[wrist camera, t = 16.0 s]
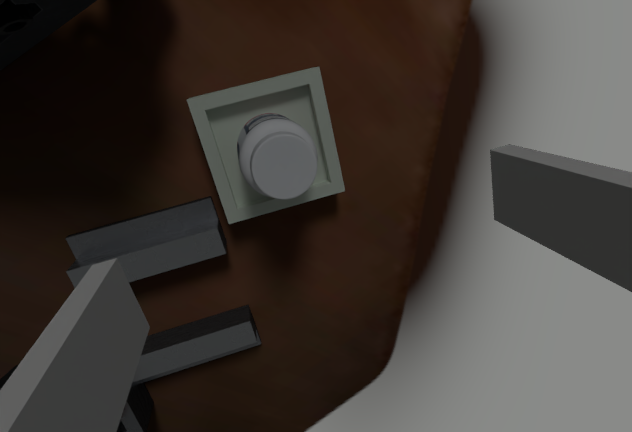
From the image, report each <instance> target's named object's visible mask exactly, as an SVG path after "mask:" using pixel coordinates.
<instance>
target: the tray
mask: <svg viewBox="0 0 632 432" xmlns="http://www.w3.org/2000/svg"><path fill="white" fill-rule="evenodd" d="M187 102H188V105H189V108H190V111H191V114H192V117H193V120H194V123H195V126H196V129H197V132H198V135H199V138H200V141H201V144H202V147H203V149H204V152H205V155H206V158H207V161H208V164H209V167H210V170H211V173H212V176H213V179H214V182H215V185H216V188H217V191H218V194H219V197H220V200H221V203H222V206H223V209H224V212H225V215H226V217H227V220H228V223H229V224H232V223H235V222H239V221H242V220H246V219H249V218H253V217H256V216H260V215H263V214H267V213H270V212H273V211H277V210H280V209H284V208H287V207H291V206H294V205H298V204H301V203H305V202H308V201H312V200H315V199H319V198H322V197H326V196H329V195H333V194H336V193H340V192H343V191H345V188H344V183H343V178H342V173H341V168H340V164H339V159H338V154H337V149H336V145H335V140H334V135H333V130H332V126H331V121H330V116H329V111H328V106H327V102H326V97H325V92H324V87H323V83H322V78H321V73H320V68H319V67H314V68H309V69H305V70H301V71H297V72H293V73H289V74H285V75H281V76H277V77H273V78H269V79H265V80H261V81H257V82H253V83H248V84H244V85H240V86H236V87H232V88H228V89H224V90H220V91H216V92H212V93H208V94H204V95H200V96H196V97H192V98H189V99H187ZM264 113H276V114H280V115H283V116H285V117H287V118H288V119H290V120H292V121H293V122H295V123H297V124H299V125H300V126H302V127H303V128H304V129H305V130H306V131H307V132H308V133H309V134H310V136H311V137H312V139H313V141H314V143H315V146H316V149H317V155H318V161H317V174H316V177H315V180H314V182H313V183H312V185H311V186H310V188H309V189H308V190H307V191H306V192H304V193H303V194H302V195H300V196H298V197H296V198H292V199H286V200H281V199H276V198H272V197H268V196H265V195H262V194H260V193H258V192H257V191H255V190H254V189H253V188H252V187H251V186H250V185H249V184H248V183H247V182H246V180H245V179H244V177H243V175H242V173H241V170H240V166H239V159H238V153H237V141H238V137H239V134H240V132H241V130H242V128H243V127H244V125H245V124H246V123H247V122H248V121H249V120H250V119H252V118H253V117H255V116H257V115H260V114H264Z"/></svg>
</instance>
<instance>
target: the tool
mask: <svg viewBox="0 0 632 432" xmlns="http://www.w3.org/2000/svg"><path fill="white" fill-rule="evenodd" d="M95 1H97V0H0V70H2V69H3V68H5V67H6V66H7V65H9V64H10V63H11V62H13V61H14V60H16V59H17V58H18V57H20V56H21V55H22V54H24V53H25V52H27V51H28V50H29V49H31V48H32V47H33V46H35V45H36V44H38V43H39V42H40V41H42V40H43V39H44V38H46V37H47V36H49V35H50V34H51V33H53V32H54V31H55V30H57V29H58V28H59V27H61V26H62V25H64V24H65V23H66V22H68V21H69V20H70V19H72V18H73V17H75V16H76V15H77V14H79V13H80V12H81V11H83V10H84V9H86V8H87V7H88V6H90V5H91V4H92V3H94V2H95Z"/></svg>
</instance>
